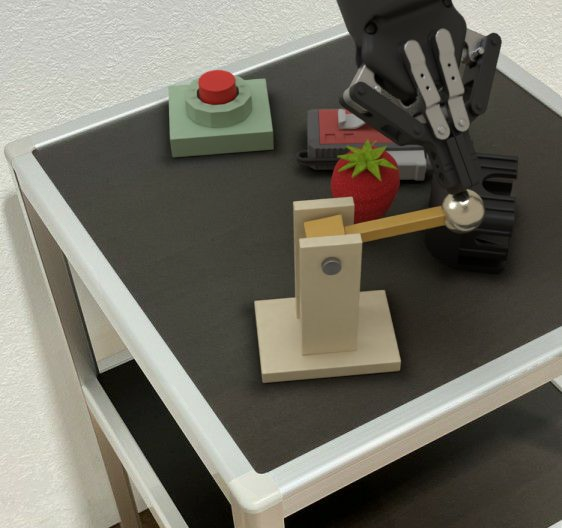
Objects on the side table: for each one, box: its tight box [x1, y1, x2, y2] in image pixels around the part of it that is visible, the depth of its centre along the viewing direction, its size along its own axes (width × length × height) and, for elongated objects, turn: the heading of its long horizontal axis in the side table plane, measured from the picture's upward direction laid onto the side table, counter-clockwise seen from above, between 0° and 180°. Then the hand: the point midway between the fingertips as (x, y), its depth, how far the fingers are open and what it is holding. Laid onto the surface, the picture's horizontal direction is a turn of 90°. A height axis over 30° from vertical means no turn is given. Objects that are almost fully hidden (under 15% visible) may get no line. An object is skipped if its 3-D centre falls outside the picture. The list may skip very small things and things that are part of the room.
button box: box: [167, 75, 275, 158], centre depth 96 cm, size 10×9×4 cm
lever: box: [304, 189, 485, 243], centre depth 70 cm, size 13×3×3 cm, turn 95°
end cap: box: [423, 139, 519, 274], centre depth 84 cm, size 10×7×7 cm
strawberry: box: [329, 139, 401, 224], centre depth 84 cm, size 6×8×10 cm
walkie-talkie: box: [295, 104, 434, 182], centre depth 93 cm, size 9×4×20 cm
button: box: [198, 69, 236, 105], centre depth 95 cm, size 4×4×2 cm
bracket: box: [254, 197, 402, 384], centre depth 74 cm, size 11×8×13 cm
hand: (465, 189), depth 68 cm, fingers closed
